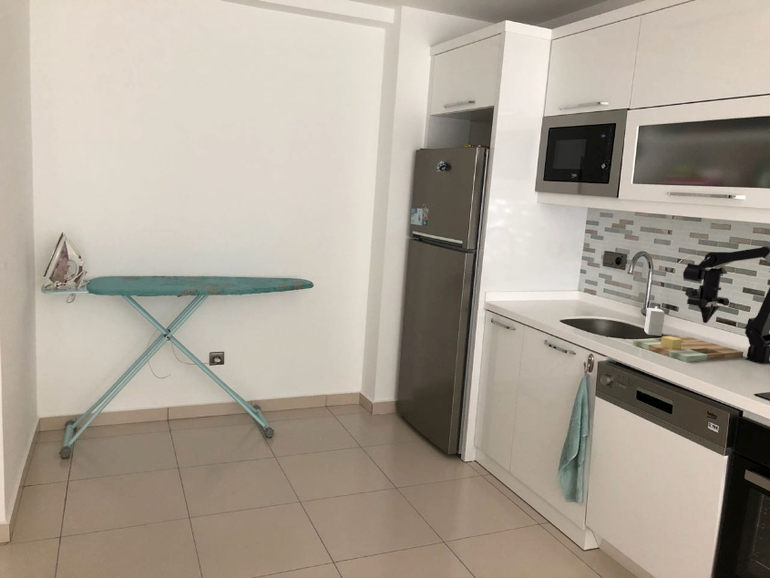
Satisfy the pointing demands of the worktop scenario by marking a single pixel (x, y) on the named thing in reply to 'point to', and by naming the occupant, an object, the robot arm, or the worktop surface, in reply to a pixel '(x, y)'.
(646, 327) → the small box
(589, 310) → the worktop surface
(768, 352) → the robot arm
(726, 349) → the trap deck
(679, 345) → the mustard block
